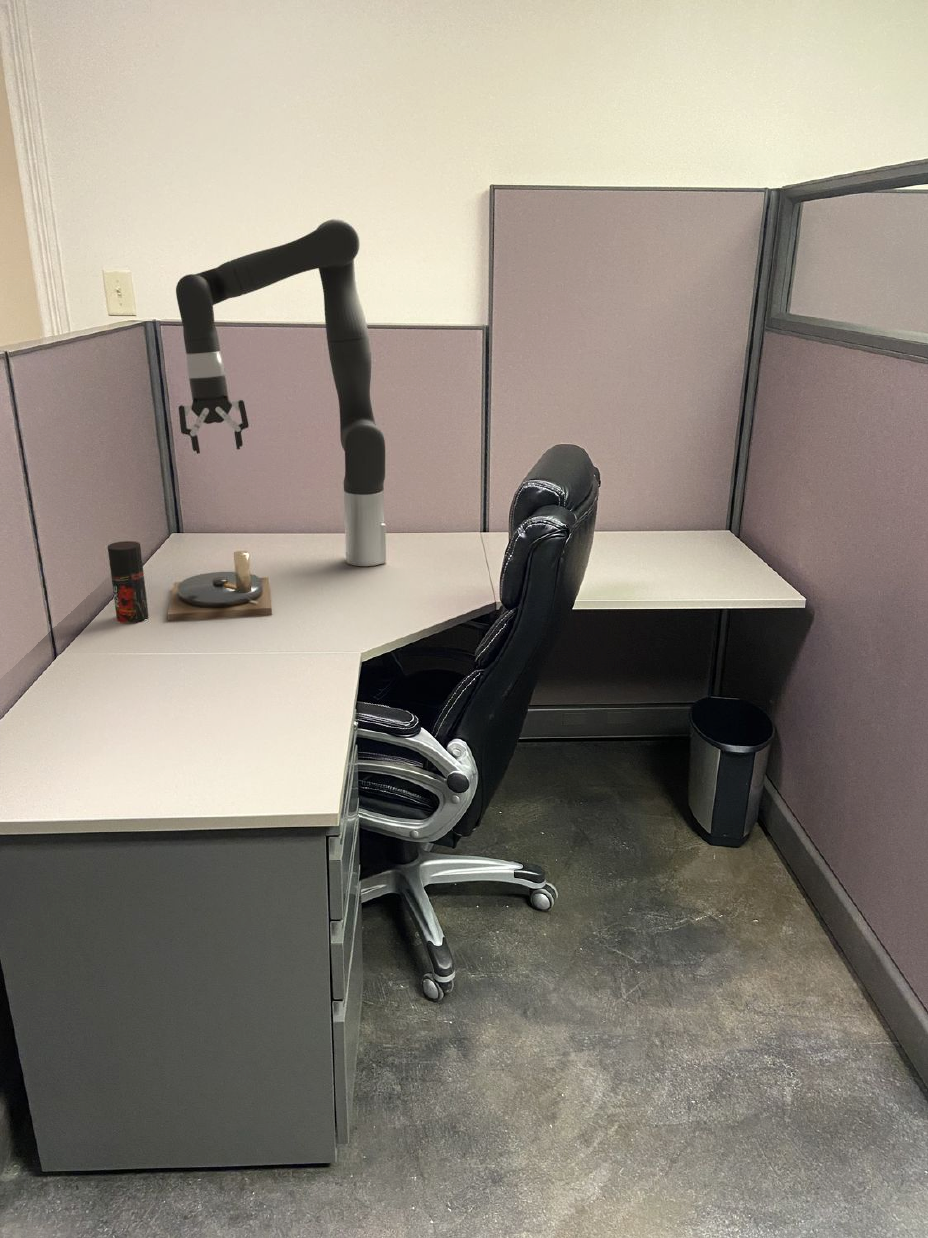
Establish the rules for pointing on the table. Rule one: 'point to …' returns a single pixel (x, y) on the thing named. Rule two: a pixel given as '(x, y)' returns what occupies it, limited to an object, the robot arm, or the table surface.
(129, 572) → the deodorant
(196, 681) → the table surface
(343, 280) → the robot arm
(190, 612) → the stand base
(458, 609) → the table surface
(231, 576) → the crank turntable
